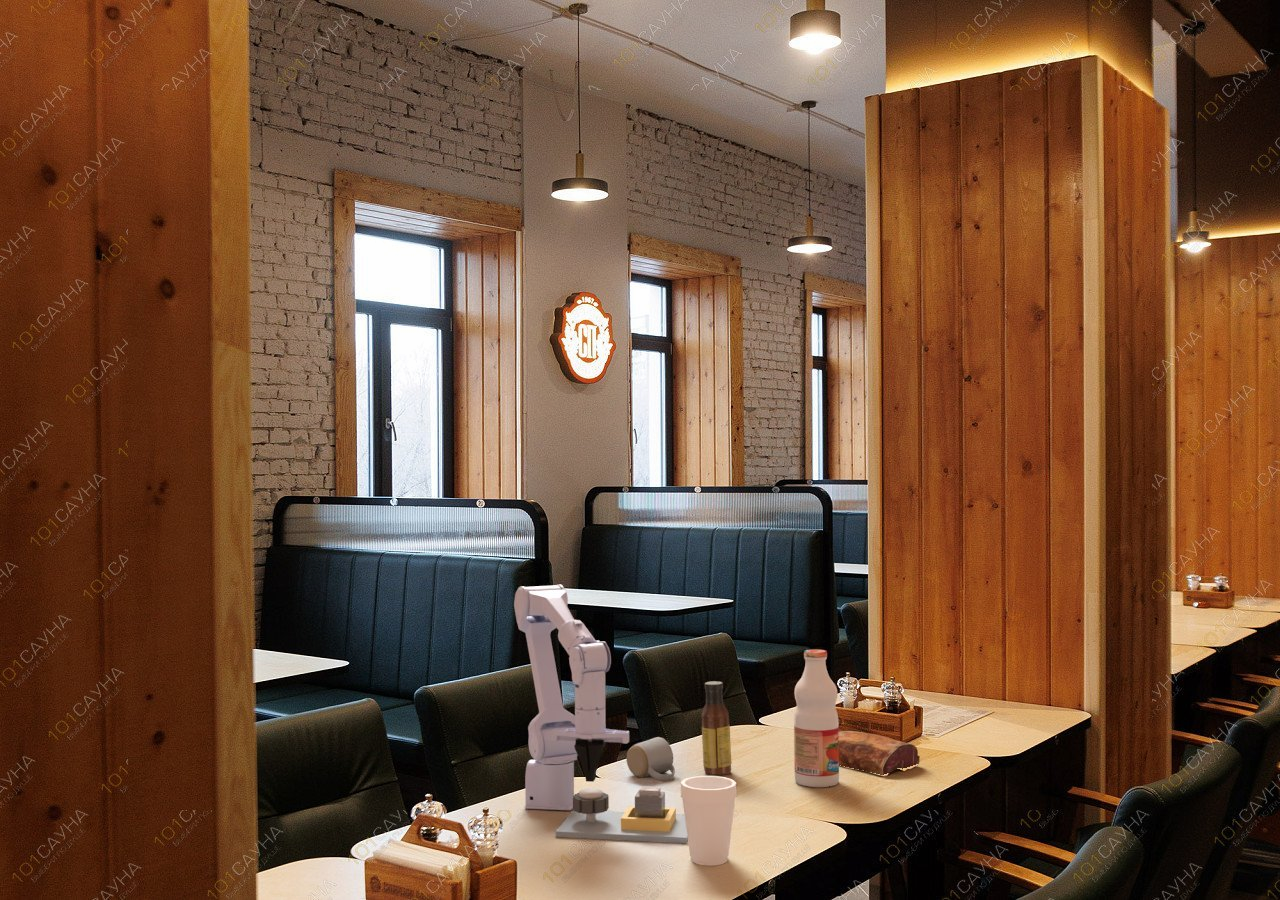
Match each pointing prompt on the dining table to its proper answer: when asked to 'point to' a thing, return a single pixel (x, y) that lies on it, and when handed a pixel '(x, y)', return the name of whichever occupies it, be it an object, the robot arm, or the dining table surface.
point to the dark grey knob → (590, 801)
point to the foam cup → (708, 817)
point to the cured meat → (875, 752)
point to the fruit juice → (816, 725)
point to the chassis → (625, 826)
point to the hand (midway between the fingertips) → (590, 780)
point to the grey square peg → (650, 803)
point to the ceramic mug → (651, 759)
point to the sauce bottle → (715, 731)
